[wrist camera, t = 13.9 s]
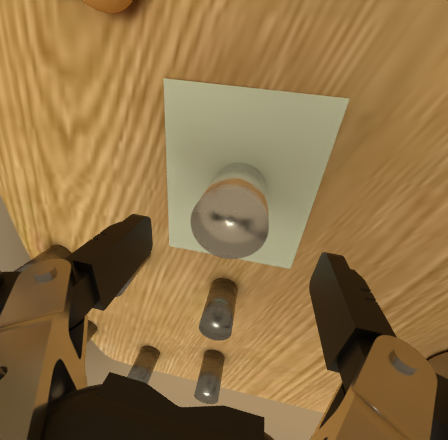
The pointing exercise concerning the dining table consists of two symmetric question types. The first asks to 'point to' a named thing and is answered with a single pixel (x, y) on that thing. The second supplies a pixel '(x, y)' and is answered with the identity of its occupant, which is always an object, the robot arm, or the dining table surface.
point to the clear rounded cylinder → (233, 213)
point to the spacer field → (209, 326)
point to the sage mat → (248, 154)
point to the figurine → (108, 5)
